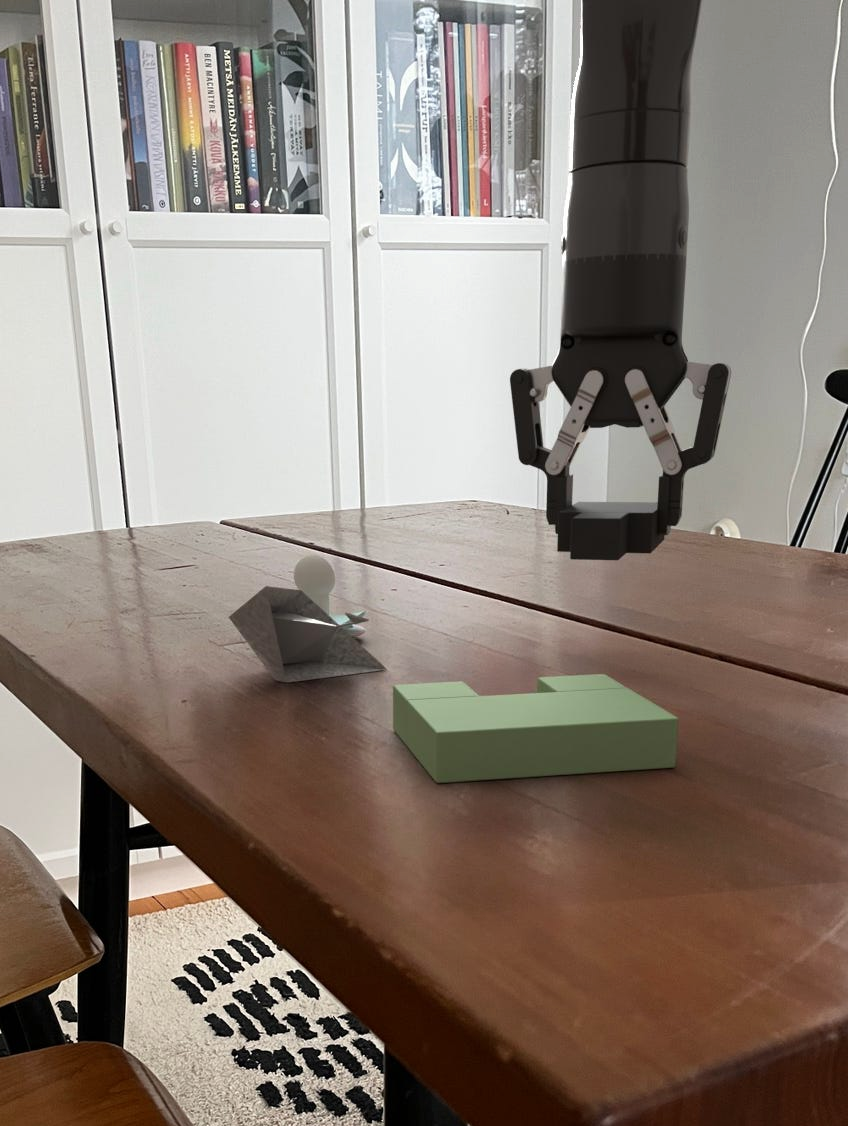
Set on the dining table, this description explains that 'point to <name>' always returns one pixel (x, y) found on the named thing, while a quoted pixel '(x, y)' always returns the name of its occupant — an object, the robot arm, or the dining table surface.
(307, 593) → the pacifier
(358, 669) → the paper boat
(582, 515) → the black pad
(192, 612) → the dining table surface
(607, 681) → the green pad
